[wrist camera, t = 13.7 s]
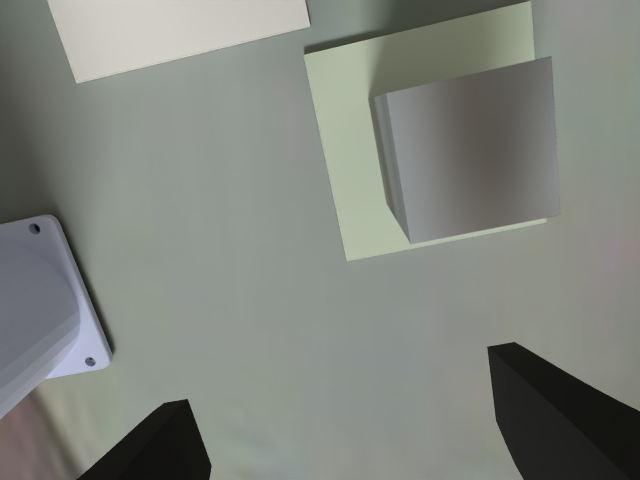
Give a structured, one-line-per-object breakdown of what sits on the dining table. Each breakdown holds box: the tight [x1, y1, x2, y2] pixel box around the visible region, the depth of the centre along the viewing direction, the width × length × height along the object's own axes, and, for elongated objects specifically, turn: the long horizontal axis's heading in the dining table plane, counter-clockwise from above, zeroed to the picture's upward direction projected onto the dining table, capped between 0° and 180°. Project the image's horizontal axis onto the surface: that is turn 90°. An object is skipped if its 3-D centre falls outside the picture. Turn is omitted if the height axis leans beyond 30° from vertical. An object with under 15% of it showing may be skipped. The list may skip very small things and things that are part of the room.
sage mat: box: [304, 1, 546, 261], centre depth 18 cm, size 9×9×1 cm
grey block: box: [368, 56, 561, 244], centre depth 15 cm, size 4×4×6 cm
